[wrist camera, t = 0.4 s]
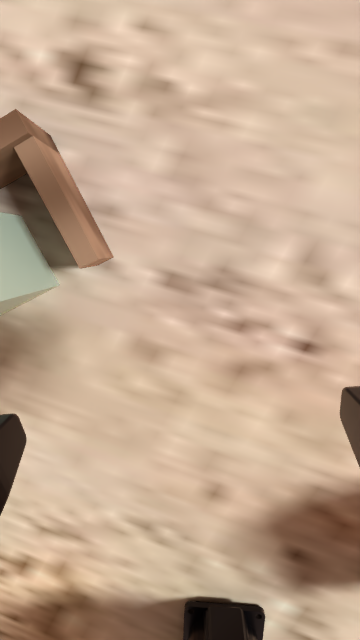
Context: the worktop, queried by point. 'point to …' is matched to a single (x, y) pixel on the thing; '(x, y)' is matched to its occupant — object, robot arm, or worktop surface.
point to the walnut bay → (50, 186)
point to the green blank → (21, 265)
